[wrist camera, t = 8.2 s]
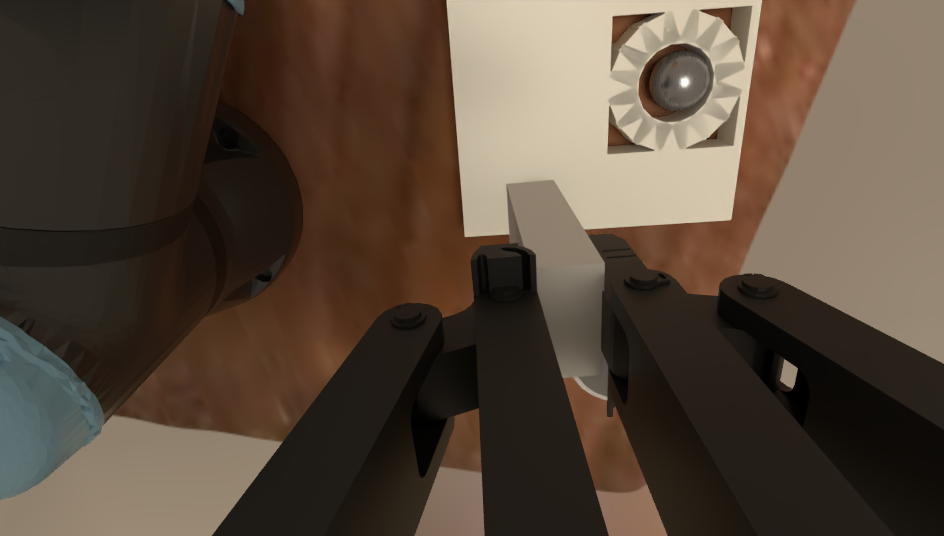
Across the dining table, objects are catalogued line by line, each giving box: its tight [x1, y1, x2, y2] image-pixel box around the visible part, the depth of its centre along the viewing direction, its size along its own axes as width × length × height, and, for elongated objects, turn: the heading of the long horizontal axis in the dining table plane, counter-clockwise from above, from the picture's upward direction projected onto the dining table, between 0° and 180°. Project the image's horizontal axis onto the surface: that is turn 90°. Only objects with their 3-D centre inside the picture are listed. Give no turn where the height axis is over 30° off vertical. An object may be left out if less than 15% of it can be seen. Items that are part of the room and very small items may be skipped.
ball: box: [649, 51, 710, 111], centre depth 32 cm, size 4×4×4 cm
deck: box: [447, 0, 762, 237], centre depth 33 cm, size 18×18×2 cm
